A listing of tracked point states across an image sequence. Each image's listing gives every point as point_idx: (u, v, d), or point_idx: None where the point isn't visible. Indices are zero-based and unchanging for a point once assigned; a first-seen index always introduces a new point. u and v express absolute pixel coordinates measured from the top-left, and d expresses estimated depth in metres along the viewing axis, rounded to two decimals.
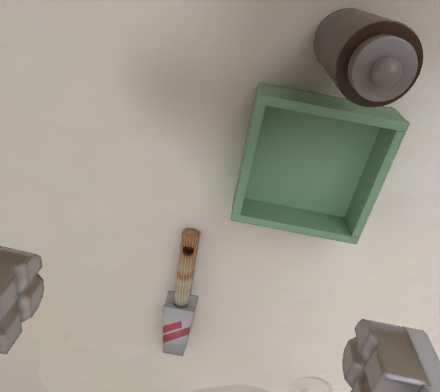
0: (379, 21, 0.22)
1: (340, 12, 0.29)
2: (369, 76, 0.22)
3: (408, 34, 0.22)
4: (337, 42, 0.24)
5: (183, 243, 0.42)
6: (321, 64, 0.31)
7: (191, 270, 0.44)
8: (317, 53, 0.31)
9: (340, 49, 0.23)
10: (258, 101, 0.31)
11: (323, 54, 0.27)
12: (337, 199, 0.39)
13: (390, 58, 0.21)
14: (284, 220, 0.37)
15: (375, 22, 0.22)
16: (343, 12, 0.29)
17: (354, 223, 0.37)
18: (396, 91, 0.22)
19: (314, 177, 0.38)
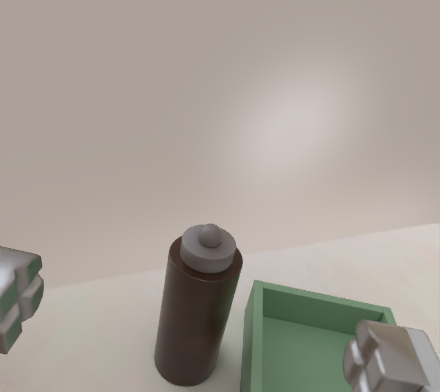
0: (169, 257, 0.25)
1: (158, 351, 0.29)
2: (215, 248, 0.24)
3: (180, 240, 0.26)
4: (186, 297, 0.24)
5: None
6: (208, 358, 0.28)
7: None
8: (197, 366, 0.28)
9: (192, 281, 0.24)
10: None
11: (198, 335, 0.26)
12: None
13: (199, 232, 0.24)
14: None
15: (170, 259, 0.25)
16: (158, 344, 0.29)
17: (368, 314, 0.34)
18: (225, 233, 0.26)
19: (336, 371, 0.32)
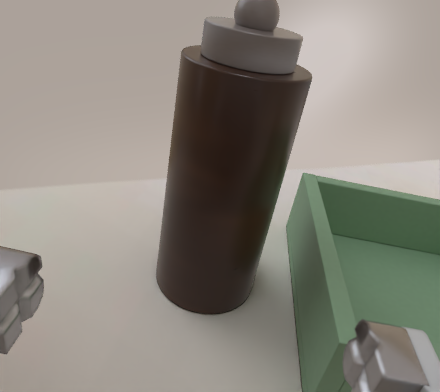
0: (182, 57, 0.14)
1: (162, 257, 0.18)
2: (267, 31, 0.13)
3: (199, 46, 0.15)
4: (215, 123, 0.13)
5: None
6: (247, 264, 0.17)
7: None
8: (229, 276, 0.17)
9: (228, 80, 0.12)
10: None
11: (233, 210, 0.15)
12: None
13: (236, 5, 0.13)
14: None
15: (183, 57, 0.14)
16: (162, 244, 0.18)
17: None
18: (279, 28, 0.15)
19: (438, 299, 0.21)
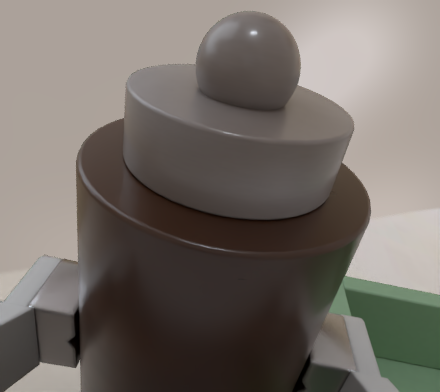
0: None
1: None
2: (271, 113, 0.05)
3: None
4: (146, 333, 0.05)
5: None
6: None
7: None
8: None
9: (170, 255, 0.05)
10: None
11: None
12: None
13: (200, 47, 0.06)
14: None
15: (78, 167, 0.06)
16: None
17: None
18: (297, 88, 0.07)
19: None
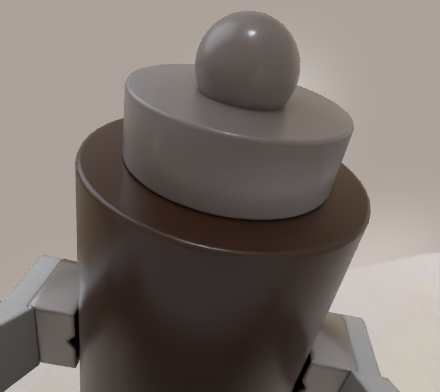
0: None
1: None
2: (270, 113, 0.05)
3: None
4: (145, 333, 0.05)
5: None
6: None
7: None
8: None
9: (169, 255, 0.05)
10: None
11: None
12: None
13: (199, 47, 0.06)
14: None
15: (77, 167, 0.06)
16: None
17: None
18: (297, 88, 0.07)
19: None
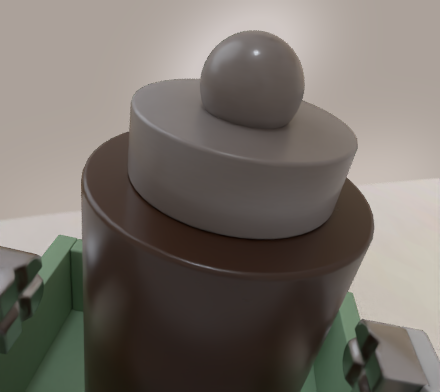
0: None
1: None
2: (275, 132, 0.05)
3: None
4: (151, 350, 0.06)
5: None
6: None
7: None
8: None
9: (175, 276, 0.05)
10: None
11: None
12: None
13: (204, 66, 0.06)
14: None
15: None
16: None
17: None
18: (300, 103, 0.07)
19: None
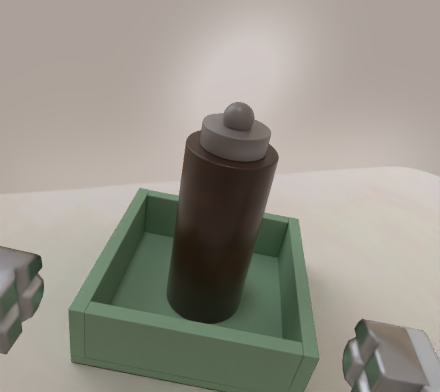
0: (187, 146, 0.20)
1: (171, 281, 0.24)
2: (245, 131, 0.19)
3: (199, 133, 0.21)
4: (209, 195, 0.19)
5: None
6: (234, 287, 0.23)
7: None
8: (221, 297, 0.23)
9: (218, 169, 0.18)
10: (81, 309, 0.19)
11: (223, 251, 0.21)
12: (254, 264, 0.29)
13: (224, 112, 0.19)
14: (293, 290, 0.23)
15: (188, 148, 0.19)
16: (172, 272, 0.23)
17: (272, 226, 0.29)
18: (256, 122, 0.21)
19: None
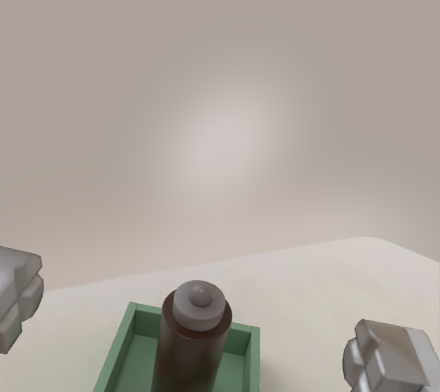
0: (162, 314, 0.26)
1: None
2: (205, 307, 0.26)
3: (172, 295, 0.28)
4: (178, 354, 0.26)
5: None
6: None
7: None
8: None
9: (184, 340, 0.25)
10: None
11: (190, 387, 0.27)
12: (223, 364, 0.36)
13: (190, 291, 0.26)
14: None
15: (162, 316, 0.26)
16: (153, 391, 0.30)
17: (237, 334, 0.36)
18: (215, 290, 0.27)
19: None
